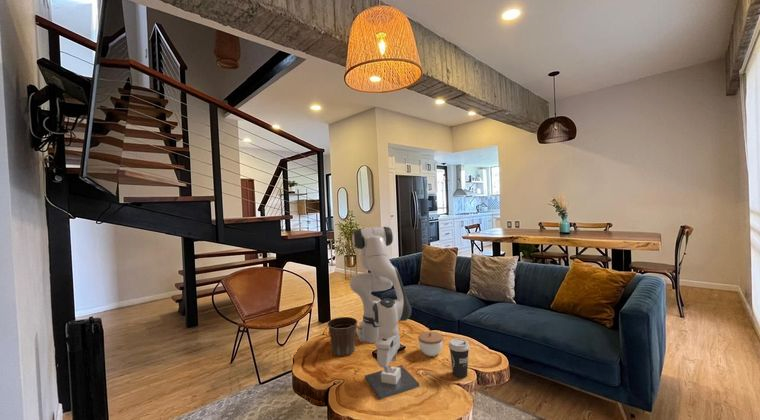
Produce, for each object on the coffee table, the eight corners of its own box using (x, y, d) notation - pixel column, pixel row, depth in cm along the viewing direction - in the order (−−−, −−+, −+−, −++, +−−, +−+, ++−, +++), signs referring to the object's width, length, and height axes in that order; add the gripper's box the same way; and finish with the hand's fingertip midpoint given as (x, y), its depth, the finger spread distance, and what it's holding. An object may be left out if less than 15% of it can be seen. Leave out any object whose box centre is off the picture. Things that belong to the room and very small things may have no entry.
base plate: (364, 378, 149) (364, 363, 148) (401, 368, 156) (400, 353, 156) (379, 399, 133) (378, 382, 133) (419, 386, 141) (418, 370, 140)
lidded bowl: (436, 361, 161) (435, 340, 160) (414, 355, 168) (413, 334, 168) (447, 351, 171) (446, 330, 170) (426, 345, 178) (425, 326, 178)
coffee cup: (455, 381, 143) (454, 348, 142) (445, 370, 152) (444, 339, 151) (474, 377, 145) (473, 344, 145) (463, 366, 155) (462, 336, 154)
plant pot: (361, 344, 183) (359, 316, 183) (356, 358, 167) (354, 328, 167) (333, 344, 185) (331, 316, 184) (325, 358, 169) (323, 328, 168)
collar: (381, 382, 143) (381, 373, 142) (386, 373, 149) (386, 365, 149) (396, 384, 140) (395, 375, 140) (400, 376, 146) (400, 367, 146)
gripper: (390, 326, 155) (391, 353, 155) (374, 345, 136) (375, 377, 136) (402, 327, 152) (403, 355, 153) (388, 347, 133) (389, 380, 134)
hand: (390, 366), depth 145 cm, fingers open, 8 cm apart
